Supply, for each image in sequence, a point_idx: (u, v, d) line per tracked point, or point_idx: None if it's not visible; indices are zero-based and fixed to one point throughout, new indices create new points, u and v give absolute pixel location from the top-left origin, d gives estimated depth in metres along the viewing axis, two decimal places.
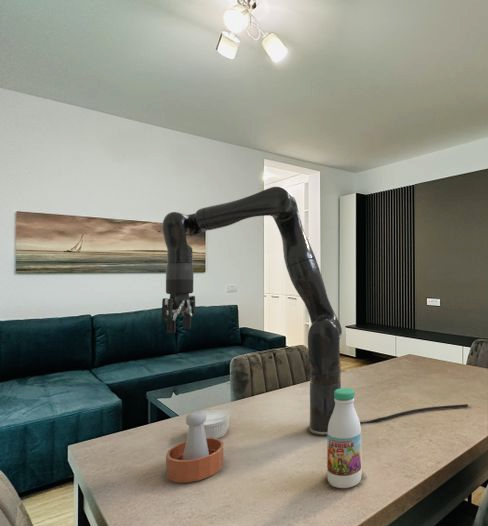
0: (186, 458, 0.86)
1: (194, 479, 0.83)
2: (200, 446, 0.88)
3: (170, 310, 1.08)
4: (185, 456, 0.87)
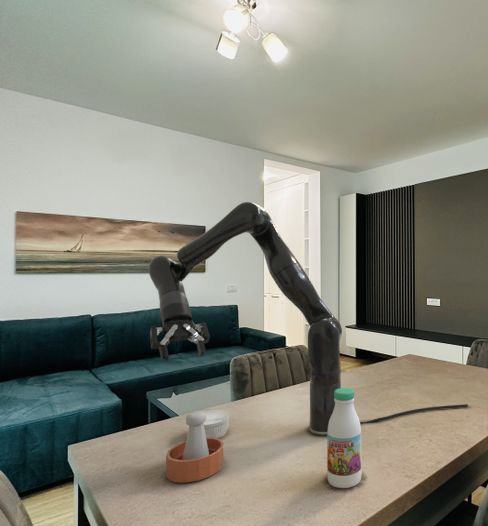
0: (186, 458, 0.86)
1: (194, 479, 0.83)
2: (200, 446, 0.88)
3: (153, 336, 0.98)
4: (185, 456, 0.87)
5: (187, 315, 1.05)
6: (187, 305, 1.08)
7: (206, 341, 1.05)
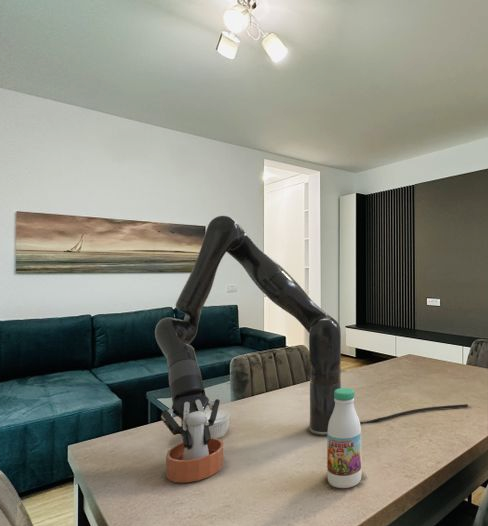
0: (186, 458, 0.86)
1: (194, 479, 0.83)
2: (200, 446, 0.88)
3: (171, 422, 0.87)
4: (185, 456, 0.87)
5: (199, 389, 0.94)
6: (199, 376, 0.97)
7: None
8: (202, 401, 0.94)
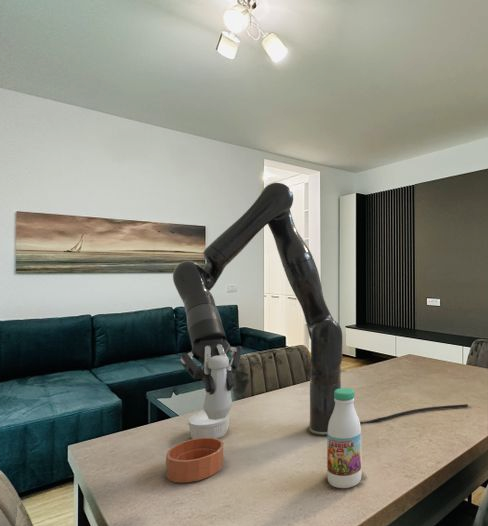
0: (208, 404, 0.79)
1: (194, 479, 0.83)
2: (223, 392, 0.80)
3: (191, 365, 0.80)
4: (207, 402, 0.79)
5: (221, 334, 0.87)
6: (220, 321, 0.90)
7: None
8: (224, 347, 0.87)
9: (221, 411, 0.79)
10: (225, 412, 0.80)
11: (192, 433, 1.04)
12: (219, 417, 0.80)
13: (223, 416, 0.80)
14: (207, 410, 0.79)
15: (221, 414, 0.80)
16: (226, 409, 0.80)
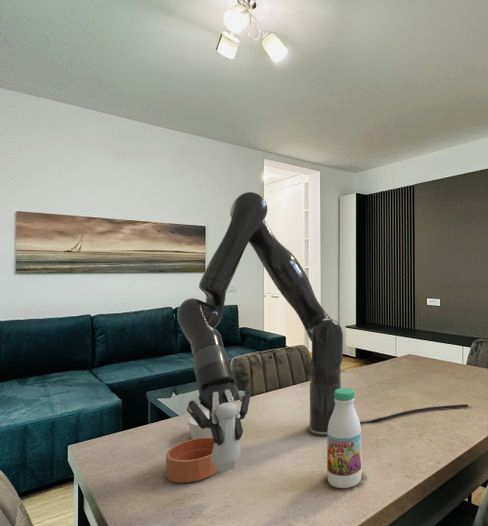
0: (216, 455, 0.76)
1: (194, 479, 0.83)
2: (232, 442, 0.77)
3: (199, 414, 0.77)
4: (215, 453, 0.76)
5: (229, 378, 0.84)
6: (227, 363, 0.87)
7: None
8: (232, 391, 0.84)
9: (230, 463, 0.76)
10: (233, 463, 0.77)
11: (192, 433, 1.04)
12: (227, 469, 0.77)
13: (231, 467, 0.77)
14: (215, 462, 0.76)
15: (229, 465, 0.77)
16: (235, 460, 0.77)
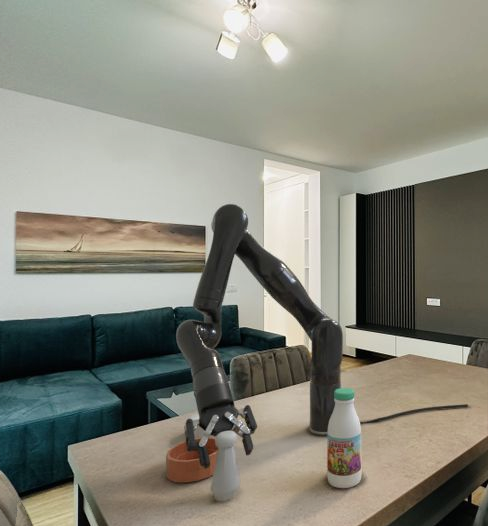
0: (216, 485, 0.76)
1: (194, 479, 0.83)
2: (231, 471, 0.77)
3: (189, 435, 0.77)
4: (214, 483, 0.76)
5: (228, 400, 0.84)
6: (227, 385, 0.87)
7: (252, 432, 0.84)
8: (233, 414, 0.84)
9: (229, 492, 0.76)
10: (233, 493, 0.77)
11: None
12: (227, 498, 0.77)
13: (231, 497, 0.77)
14: (214, 492, 0.76)
15: (229, 495, 0.76)
16: (234, 490, 0.77)
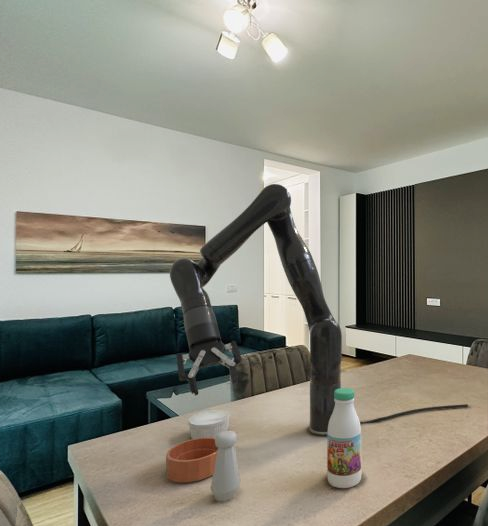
0: (216, 485, 0.76)
1: (194, 479, 0.83)
2: (231, 471, 0.77)
3: (179, 367, 0.88)
4: (214, 483, 0.76)
5: (214, 337, 0.93)
6: (214, 323, 0.95)
7: (238, 364, 0.94)
8: (220, 349, 0.93)
9: (229, 492, 0.76)
10: (233, 493, 0.77)
11: (192, 433, 1.04)
12: (227, 498, 0.77)
13: (231, 497, 0.77)
14: (214, 492, 0.76)
15: (229, 495, 0.76)
16: (234, 490, 0.77)
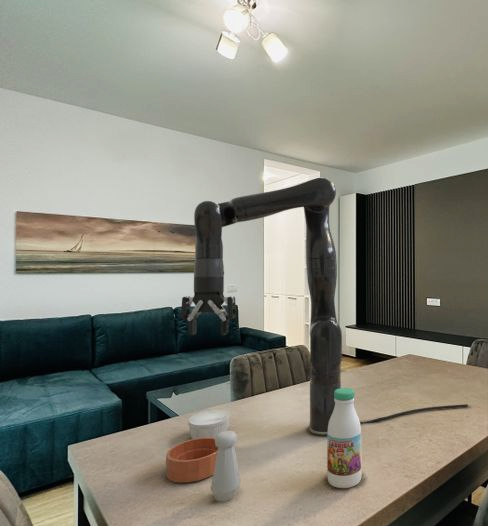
0: (216, 485, 0.76)
1: (194, 479, 0.83)
2: (231, 471, 0.77)
3: (182, 309, 1.01)
4: (214, 483, 0.76)
5: (211, 292, 0.99)
6: (214, 277, 1.00)
7: None
8: (217, 301, 1.01)
9: (229, 492, 0.76)
10: (233, 493, 0.77)
11: (192, 433, 1.04)
12: (227, 498, 0.77)
13: (231, 497, 0.77)
14: (214, 492, 0.76)
15: (229, 495, 0.76)
16: (234, 490, 0.77)
